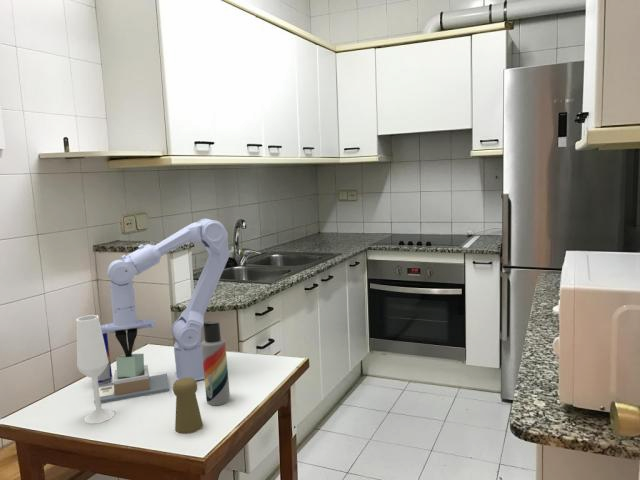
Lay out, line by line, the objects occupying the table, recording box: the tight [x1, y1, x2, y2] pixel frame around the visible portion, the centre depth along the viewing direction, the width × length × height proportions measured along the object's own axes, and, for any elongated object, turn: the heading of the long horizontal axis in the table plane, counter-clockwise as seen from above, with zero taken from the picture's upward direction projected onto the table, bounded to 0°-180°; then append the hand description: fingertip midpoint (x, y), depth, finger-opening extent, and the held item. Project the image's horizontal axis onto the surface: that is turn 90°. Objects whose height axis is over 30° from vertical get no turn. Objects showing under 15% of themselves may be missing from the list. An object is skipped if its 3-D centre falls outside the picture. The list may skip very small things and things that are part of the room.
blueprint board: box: [93, 364, 170, 404], centre depth 142 cm, size 18×11×5 cm, turn 108°
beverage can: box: [97, 333, 113, 385], centre depth 147 cm, size 5×5×15 cm
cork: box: [172, 378, 204, 435], centre depth 119 cm, size 6×6×11 cm
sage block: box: [115, 353, 145, 377], centre depth 141 cm, size 5×5×5 cm
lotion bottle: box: [201, 321, 231, 406], centre depth 131 cm, size 6×6×20 cm
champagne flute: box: [75, 314, 115, 424], centre depth 126 cm, size 7×7×24 cm
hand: (128, 357), depth 141 cm, fingers closed, pressing on sage block
